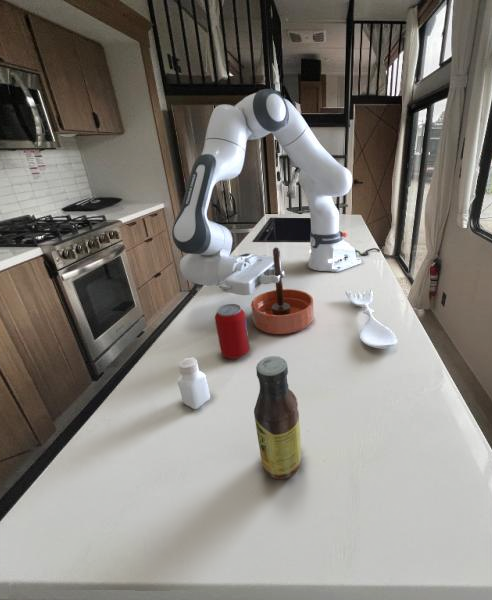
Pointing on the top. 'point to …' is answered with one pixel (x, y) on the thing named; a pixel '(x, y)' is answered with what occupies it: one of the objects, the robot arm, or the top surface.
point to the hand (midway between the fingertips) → (281, 276)
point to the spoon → (372, 324)
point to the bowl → (283, 324)
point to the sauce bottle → (277, 420)
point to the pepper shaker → (192, 384)
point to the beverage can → (232, 331)
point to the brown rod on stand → (279, 288)
